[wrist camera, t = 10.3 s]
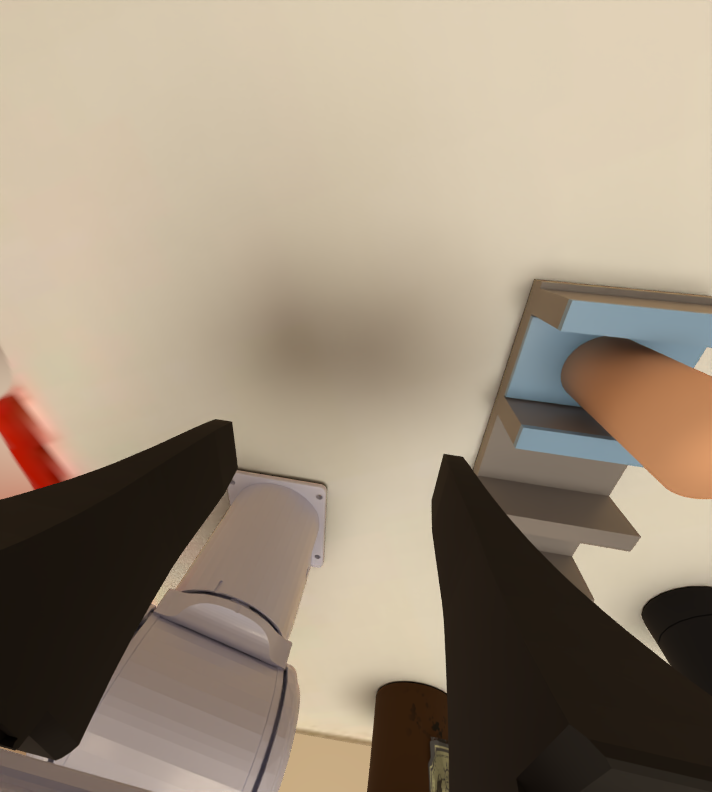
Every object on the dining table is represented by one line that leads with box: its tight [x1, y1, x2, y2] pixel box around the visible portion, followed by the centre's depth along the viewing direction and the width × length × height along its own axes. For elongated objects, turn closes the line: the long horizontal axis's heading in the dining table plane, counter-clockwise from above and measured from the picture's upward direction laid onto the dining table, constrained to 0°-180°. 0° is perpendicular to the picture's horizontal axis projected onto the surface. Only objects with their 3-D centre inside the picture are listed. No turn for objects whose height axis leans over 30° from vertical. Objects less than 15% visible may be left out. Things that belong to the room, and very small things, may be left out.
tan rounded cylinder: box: [561, 336, 712, 499], centre depth 13 cm, size 4×4×7 cm
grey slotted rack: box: [473, 279, 712, 601], centre depth 18 cm, size 19×8×4 cm, turn 175°
